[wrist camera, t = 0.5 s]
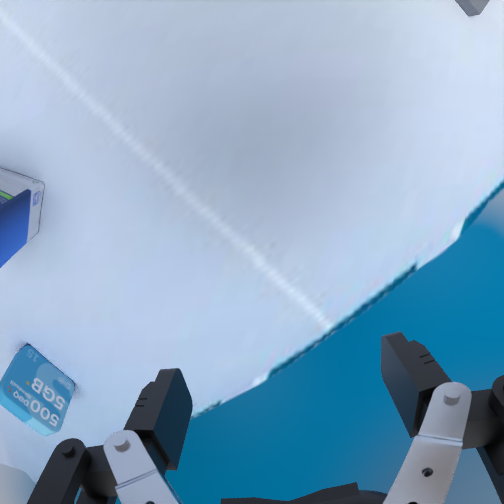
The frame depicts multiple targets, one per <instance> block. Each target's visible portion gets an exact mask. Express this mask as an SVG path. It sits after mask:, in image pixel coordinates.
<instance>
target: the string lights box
mask: <svg viewBox="0 0 504 504" xmlns="http://www.w3.org/2000/svg"><path fill="white" fill-rule="evenodd" d="M43 191H44V183H43V182H40V181H37V180H35V179H32V178H29V177H26V176H23V175H20V174H17V173H14V172H11V171H8V170H5V169H2V168H0V268H1V267H2V266H3V265H4V264H5V263H6V262H7V261H8V260H9V259H10V258H11V257H12V256H13V255H14V254H15V253H16V252H17V251H18V250H19V249H21V248H22V247H23V246H24V245H25V244H26V243H27V242H28V241H29V240H30V239H31V238H33V237H34V236H35V235H36V234H37V233H38V228H39V219H40V211H41V204H42V197H43Z"/></svg>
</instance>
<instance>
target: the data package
mask: <svg viewBox="0 0 504 504" xmlns="http://www.w3.org/2000/svg"><path fill="white" fill-rule="evenodd" d="M73 392H74V384H73V382H72V380H71V379H70V378H68V377H67V376H66V375H65V374H63V373H62V372H61V371H60V370H58V369H57V368H56V367H55V366H54V365H52V364H51V363H50V362H49V361H48V360H47V359H45V358H44V357H43V356H42V355H41V354H40V353H39V352H38V351H36V350H35V349H34V348H33V347H32V346H29V345H26V346H24V347H23V348H22V349H21V350H20V351H19V352H18V353H17V354H16V355H15V357H14V358H13V360H12V362H11V363H10V365H9V367H8V369H7V370H6V372H5V374H4V376H3V378H2V379H1V381H0V405H2V406H3V407H4V408H5V409H7V410H8V411H9V412H10V413H12V414H13V415H14V416H16V417H17V418H18V419H20V420H21V421H22V422H24V423H25V424H26V425H28V426H29V427H30V428H32V429H33V430H35V431H36V432H38V433H39V434H40V435H42V436H49V435H51V434H54V433H56V432H58V431H59V430H60V429H61V426H62V423H63V420H64V417H65V414H66V412H67V409H68V406H69V403H70V400H71V398H72V395H73Z"/></svg>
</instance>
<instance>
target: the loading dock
mask: <svg viewBox="0 0 504 504" xmlns="http://www.w3.org/2000/svg"><path fill="white" fill-rule="evenodd" d="M455 1H456V2H457V3H458V4H459V5H460V6H461V8H462V9H463V10H464V11H465V13H466V14H467V15H468V16H473V15H479V14H481V12H482V11H483V9H484V8H485V6H486V5H487V3H488V2H489V0H455Z"/></svg>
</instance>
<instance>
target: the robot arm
mask: <svg viewBox="0 0 504 504" xmlns="http://www.w3.org/2000/svg"><path fill="white" fill-rule="evenodd" d="M381 373H382V378H383V381H384V383H385V385H386V387H387V389H388V391H389V393H390V395H391V397H392V399H393V401H394V404H395V406H396V408H397V410H398V412H399V414H400V416H401V418H402V420H403V423H404V425H405V427H406V429H407V431H408V433H409V436H410V438H412V437H415V438H414V440H413V443H412V445H411V448H410V450H409V452H408V454H407V457H406V459H405V461H404V463H403V465H402V467H401V470H400V472H399V474H398V476H397V478H396V480H395V482H394V484H393V486H392V488H391V490H390V491H389V493H388V494H386V493H382V492H377V491H369V490H359V489H358V485H357V482H355V483H351V484H346V485H342V486H337V487H332V488H326V489H322V490H320V491H317V492H314V493H312V494H309V495H306V496H303V497H300V498H297V499H294V500H291V501H280V500H270V499H261V498H254V497H253V498H231V499H230V498H228V499H221V504H444V501H445V498H446V496H447V493H448V490H449V487H450V484H451V481H452V478H453V475H454V472H455V469H456V466H457V462H458V459H459V456H460V452H461V449H468V448H475V447H476V449H477V451H478V453H479V455H480V457H481V459H482V461H483V463H484V465H485V467H486V469H487V471H488V474H489V476H490V478H491V480H492V482H493V485H494V487H495V489H496V491H497V494H498V496H499V498H500V500H501V503H502V504H504V375H503V376H500V377H498V378H497V379H496V380H495V381H494V383H493V386H492V389H487V390H481V391H470V390H469V388H468V387H467V386H465V385H463V384H461V383H458V382H452V381H451V380H450V379H449V377H448V376H447V375H446V373H445V372H444V371H443V369H442V368H441V367H440V365H439V364H438V363H437V361H435V359H434V357H433V356H432V355H430V352H429V351H428V350H427V348H426V347H425V346H424V345H422V344H420V343H419V342H417V341H415V340H414V341H410V342H408V341H407V339H406V338H405V336H404V335H403V334H402V332H396V333H392V334H389V335H384V336H382V339H381ZM192 407H193V405H192V398H191V395H190V393H189V390H188V388H187V385H186V382H185V380H184V377H183V375H182V372H181V370H180V369H179V368H174V369H161V370H160V371H159V373H158V375H157V378H156V380H155V382H150V383H149V384H148V385H147V386H146V387H145V388H144V389H142V391H141V393H140V396H139V398H138V400H137V402H136V404H135V407H134V408H133V410H132V412H131V415H130V417H129V419H128V421H127V423H126V425H125V427H124V429H123V430H121V431H118V432H115V433H113V434H112V435H110V436H109V437H108V438H107V439H106V441H105V443H104V445H100V446H94V447H87V448H86V446H85V445H84V444H83V442H82V441H81V440H79V439H75V438H71V439H67V440H64V441H62V442H61V443H59V444H58V445H57V446H56V448H55V450H54V451H53V453H52V455H51V457H50V459H49V461H48V463H47V465H46V466H45V468H44V470H43V472H42V474H41V476H40V478H39V480H38V482H37V484H36V486H35V488H34V490H33V492H32V494H31V496H30V498H29V500H28V503H27V504H74V500H75V497H76V495H77V492H78V490H79V487H80V488H81V489H82V490H81V493H80V495H79V498H78V500H77V503H76V504H115V502H116V498H117V496H119V498H120V501H121V503H122V504H183V503H182V502H181V500H180V499H179V497H178V496H177V494H176V493H175V492H174V490H173V488H172V487H171V485H170V484H169V483H168V481H167V479H166V478H165V472H166V470H177V468H178V464H179V460H180V456H181V452H182V448H183V444H184V440H185V436H186V433H187V428H188V425H189V421H190V417H191V413H192Z"/></svg>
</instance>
